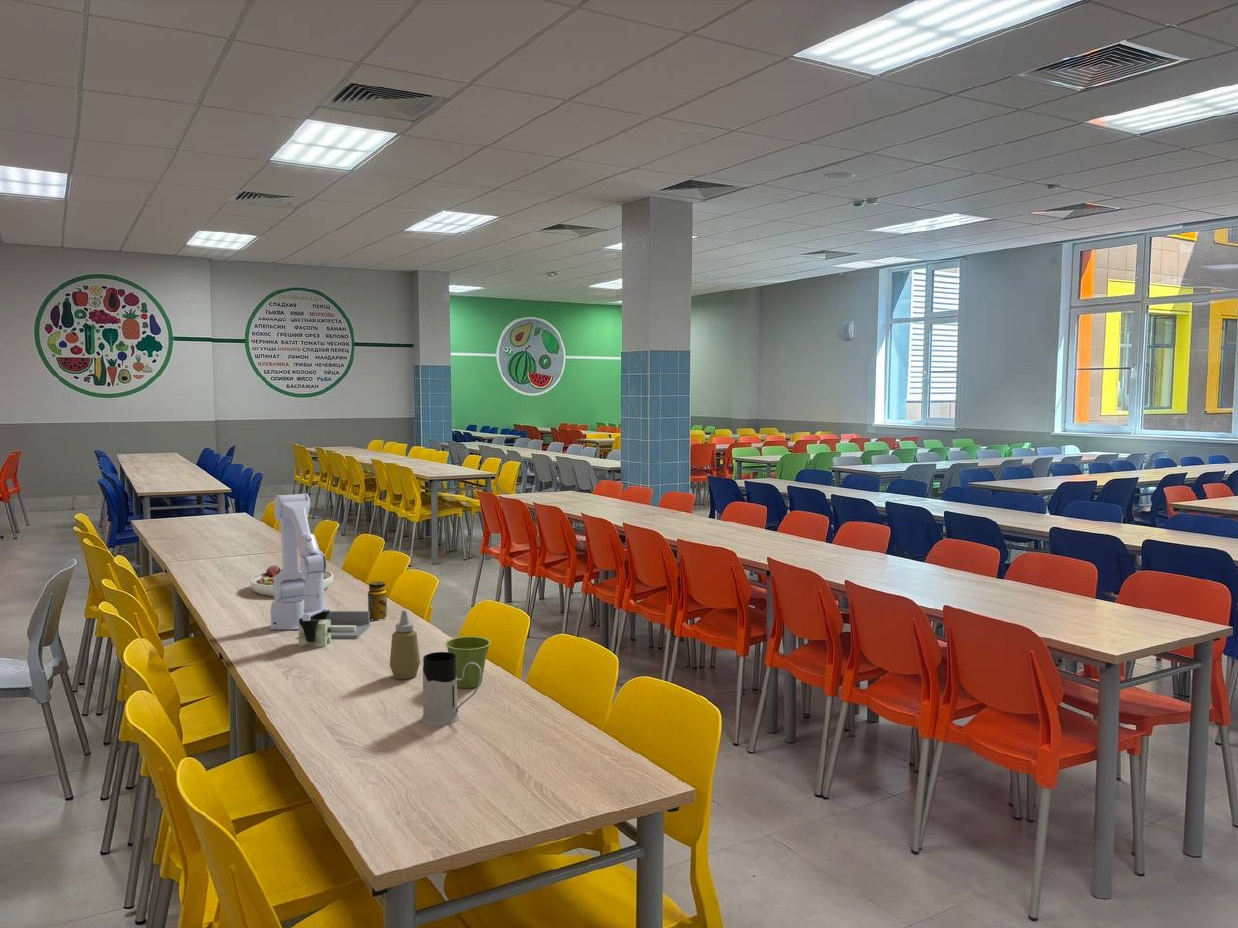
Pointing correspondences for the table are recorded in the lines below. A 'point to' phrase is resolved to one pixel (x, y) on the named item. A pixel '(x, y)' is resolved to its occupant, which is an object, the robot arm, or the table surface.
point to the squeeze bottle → (404, 650)
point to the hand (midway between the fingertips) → (315, 637)
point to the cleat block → (317, 635)
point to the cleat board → (348, 623)
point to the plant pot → (469, 658)
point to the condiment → (377, 601)
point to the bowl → (266, 580)
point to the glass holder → (441, 689)
